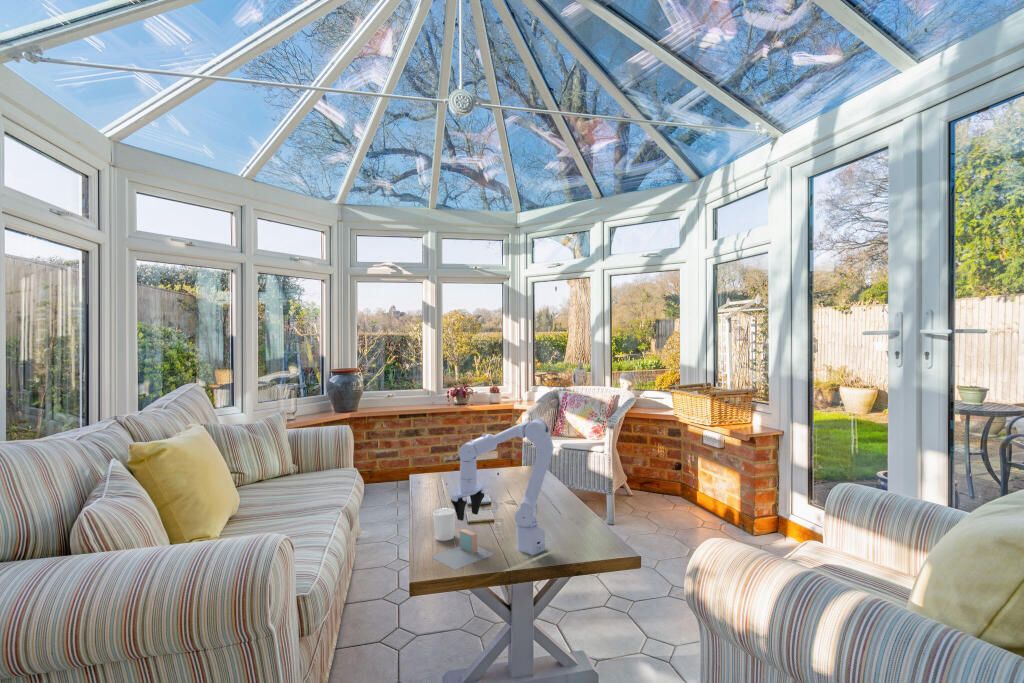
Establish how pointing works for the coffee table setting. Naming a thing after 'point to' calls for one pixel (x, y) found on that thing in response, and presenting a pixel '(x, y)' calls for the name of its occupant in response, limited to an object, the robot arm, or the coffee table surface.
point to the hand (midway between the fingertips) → (467, 516)
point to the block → (468, 541)
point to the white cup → (444, 523)
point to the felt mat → (461, 557)
